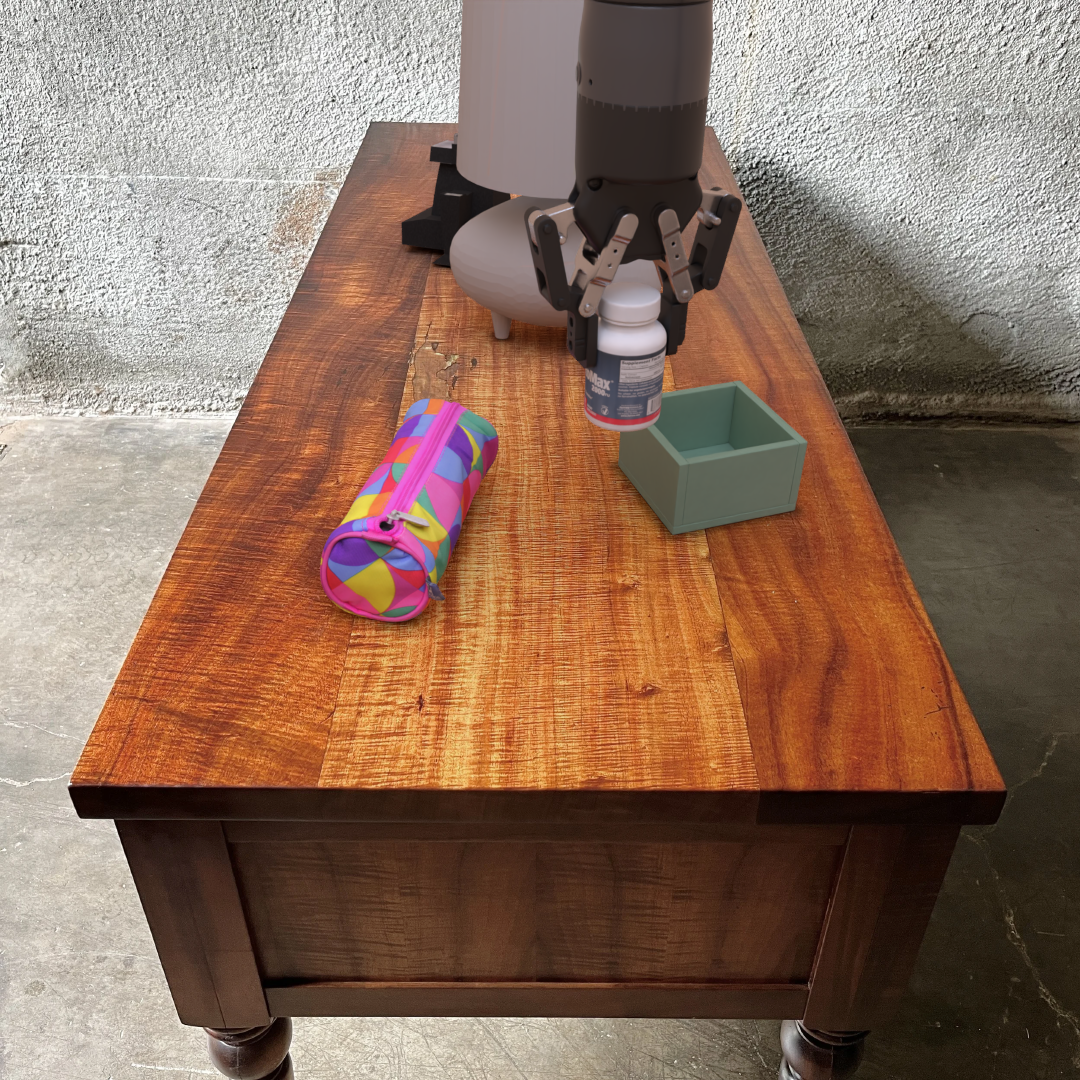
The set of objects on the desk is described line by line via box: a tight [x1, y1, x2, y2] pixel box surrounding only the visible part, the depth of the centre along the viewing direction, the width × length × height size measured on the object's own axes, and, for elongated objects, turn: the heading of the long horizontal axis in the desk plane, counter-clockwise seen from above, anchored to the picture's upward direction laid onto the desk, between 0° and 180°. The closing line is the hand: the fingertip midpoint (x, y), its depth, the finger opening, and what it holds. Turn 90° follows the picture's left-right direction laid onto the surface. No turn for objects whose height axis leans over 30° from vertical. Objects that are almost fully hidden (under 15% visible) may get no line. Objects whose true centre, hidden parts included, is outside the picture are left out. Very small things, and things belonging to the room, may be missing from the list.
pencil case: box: [319, 398, 500, 623], centre depth 81 cm, size 22×9×9 cm, turn 170°
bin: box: [617, 380, 808, 536], centre depth 90 cm, size 12×12×7 cm
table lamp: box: [450, 0, 662, 340], centre depth 105 cm, size 23×22×40 cm
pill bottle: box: [583, 282, 667, 433], centre depth 69 cm, size 5×5×9 cm
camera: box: [400, 132, 512, 267], centre depth 135 cm, size 16×14×15 cm
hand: (625, 355), depth 69 cm, fingers closed on pill bottle, 5 cm apart
